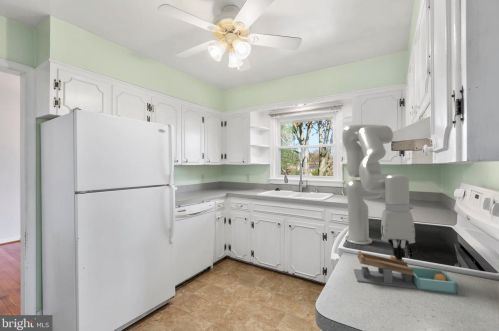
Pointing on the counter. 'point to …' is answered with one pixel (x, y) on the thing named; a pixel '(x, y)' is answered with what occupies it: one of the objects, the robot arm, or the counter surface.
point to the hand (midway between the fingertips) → (398, 257)
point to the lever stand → (384, 277)
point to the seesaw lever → (385, 263)
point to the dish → (433, 281)
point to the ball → (440, 277)
